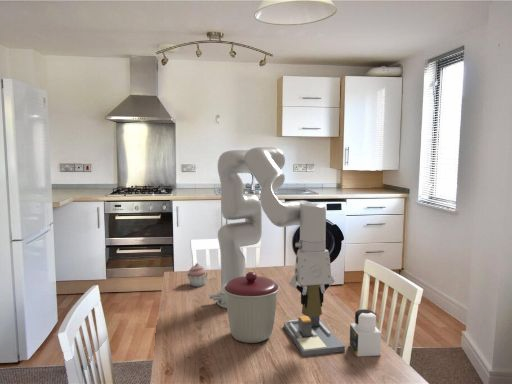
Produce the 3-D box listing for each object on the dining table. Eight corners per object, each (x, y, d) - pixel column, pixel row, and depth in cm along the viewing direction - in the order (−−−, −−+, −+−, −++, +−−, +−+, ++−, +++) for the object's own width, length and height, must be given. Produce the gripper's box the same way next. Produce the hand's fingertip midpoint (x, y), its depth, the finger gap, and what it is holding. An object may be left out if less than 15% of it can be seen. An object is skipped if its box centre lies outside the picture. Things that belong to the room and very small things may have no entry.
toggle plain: (310, 327, 133) (310, 312, 132) (306, 322, 136) (306, 307, 136) (319, 326, 133) (319, 311, 133) (315, 321, 137) (315, 306, 137)
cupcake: (184, 283, 182) (184, 261, 181) (204, 280, 186) (204, 259, 185) (190, 289, 174) (189, 267, 173) (210, 286, 178) (210, 264, 177)
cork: (300, 315, 119) (301, 279, 118) (302, 308, 125) (302, 273, 123) (321, 317, 117) (322, 280, 116) (322, 309, 123) (322, 274, 122)
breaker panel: (303, 356, 118) (303, 348, 117) (283, 326, 137) (283, 320, 137) (344, 351, 120) (344, 343, 120) (319, 323, 140) (319, 316, 140)
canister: (216, 329, 135) (215, 267, 133) (266, 320, 142) (266, 262, 140) (234, 354, 119) (233, 284, 117) (289, 343, 125) (289, 277, 123)
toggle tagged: (302, 336, 126) (302, 321, 125) (298, 331, 129) (298, 316, 129) (311, 335, 126) (311, 320, 126) (307, 330, 130) (307, 315, 130)
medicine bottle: (349, 345, 124) (350, 307, 123) (371, 344, 125) (373, 306, 123) (357, 357, 117) (358, 317, 116) (380, 356, 117) (382, 316, 116)
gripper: (289, 250, 114) (289, 313, 115) (344, 246, 117) (343, 307, 119) (281, 244, 121) (281, 303, 123) (333, 241, 124) (332, 298, 126)
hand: (312, 305), depth 121 cm, fingers closed on cork, 3 cm apart
